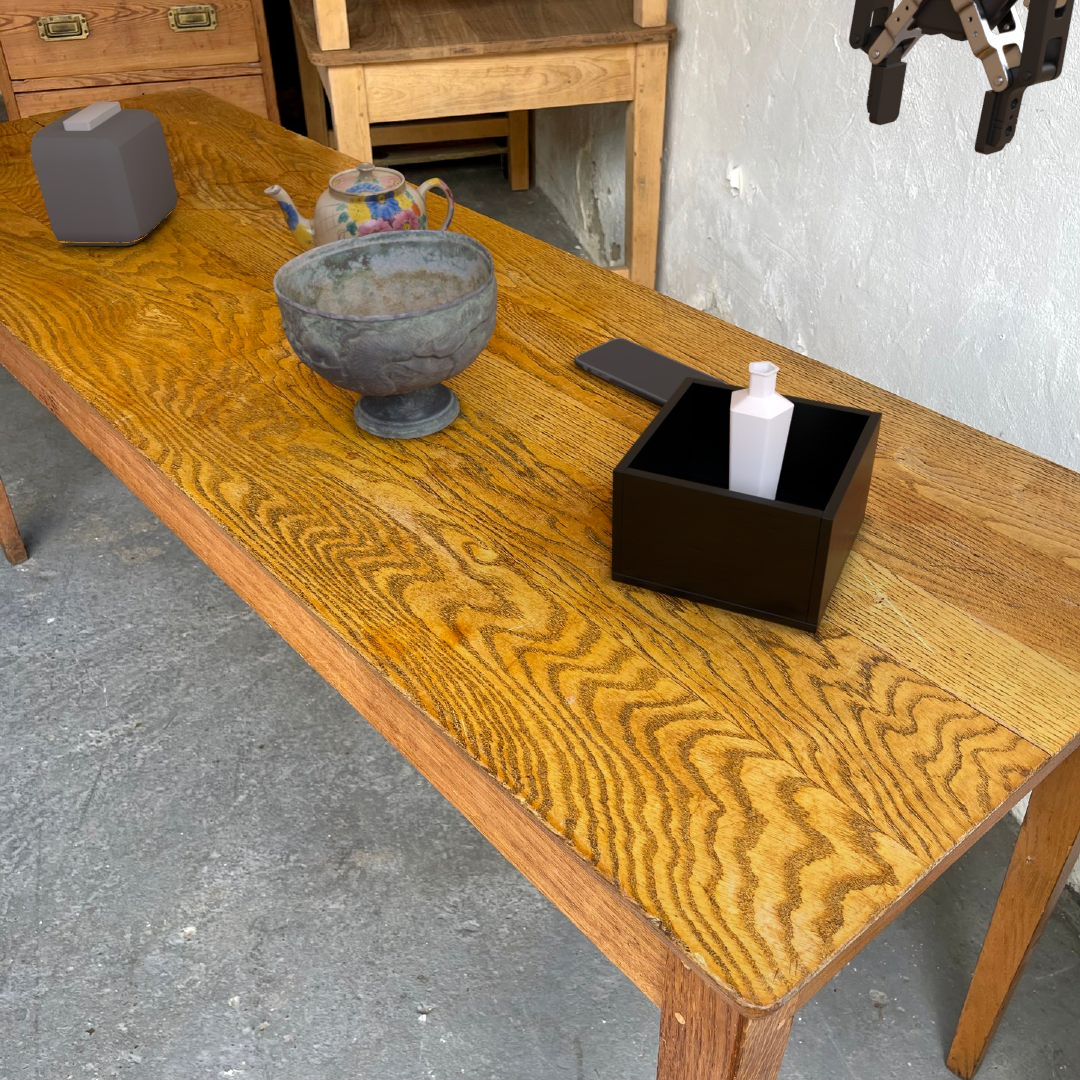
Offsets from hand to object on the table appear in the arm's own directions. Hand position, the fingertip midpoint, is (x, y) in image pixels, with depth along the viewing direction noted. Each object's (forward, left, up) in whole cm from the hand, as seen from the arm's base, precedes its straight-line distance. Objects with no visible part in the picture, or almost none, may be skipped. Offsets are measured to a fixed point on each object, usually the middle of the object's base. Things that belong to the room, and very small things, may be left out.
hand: (934, 136), depth 72 cm
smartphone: (+25, -16, -30) cm, 42 cm away
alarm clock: (+106, -30, -30) cm, 114 cm away
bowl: (+44, 0, -30) cm, 53 cm away
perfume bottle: (+8, +8, -30) cm, 32 cm away
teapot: (+66, -29, -30) cm, 78 cm away
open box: (+8, +8, -30) cm, 32 cm away
